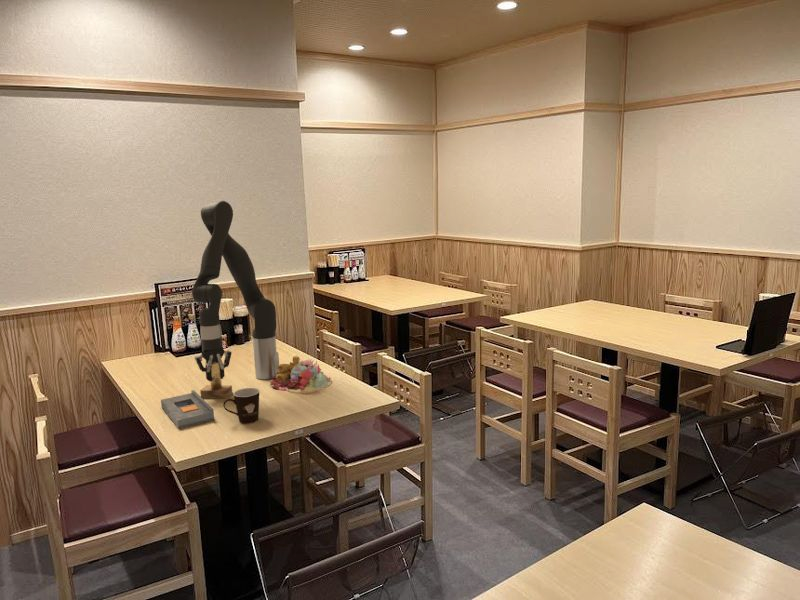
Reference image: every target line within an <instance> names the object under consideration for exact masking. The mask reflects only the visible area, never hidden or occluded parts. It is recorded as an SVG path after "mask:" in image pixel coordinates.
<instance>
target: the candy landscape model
mask: <svg viewBox="0 0 800 600" xmlns="http://www.w3.org/2000/svg"><path fill="white" fill-rule="evenodd" d="M313 362H314V360H313V359H305V360H304V361H303V360H301V361H300V356H298V355H295V356H293V357H292V361H290V362H289V363H279V366H278V367H277V369H278V370H279V372H277V374H276V376H274V377H273V378H272V379H270V384H269V386H272V387H271V388H272V389H275V390H278V389H279V390H281V391H286V392H287V393H291V394H297V395H300V394H302V395H303V394H310V393H314V392H318V391H321V390H323V389H326V388H327V387H329V386H331V384H332V381H333V380H332V379H331V376H329V377H328V376H327V375H326V374H324V371H321V370H322V368H321V367H320V364H318V361H317V360H315V363H313Z"/></svg>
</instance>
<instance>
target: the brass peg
mask: <svg viewBox="0 0 800 600" xmlns="http://www.w3.org/2000/svg"><path fill="white" fill-rule="evenodd" d="M210 372H211V381H210V385H211V389H220V388H222V385H223V384H222V379H221V372H220V364H219V362H214V363H212V364H211V367H210Z"/></svg>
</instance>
